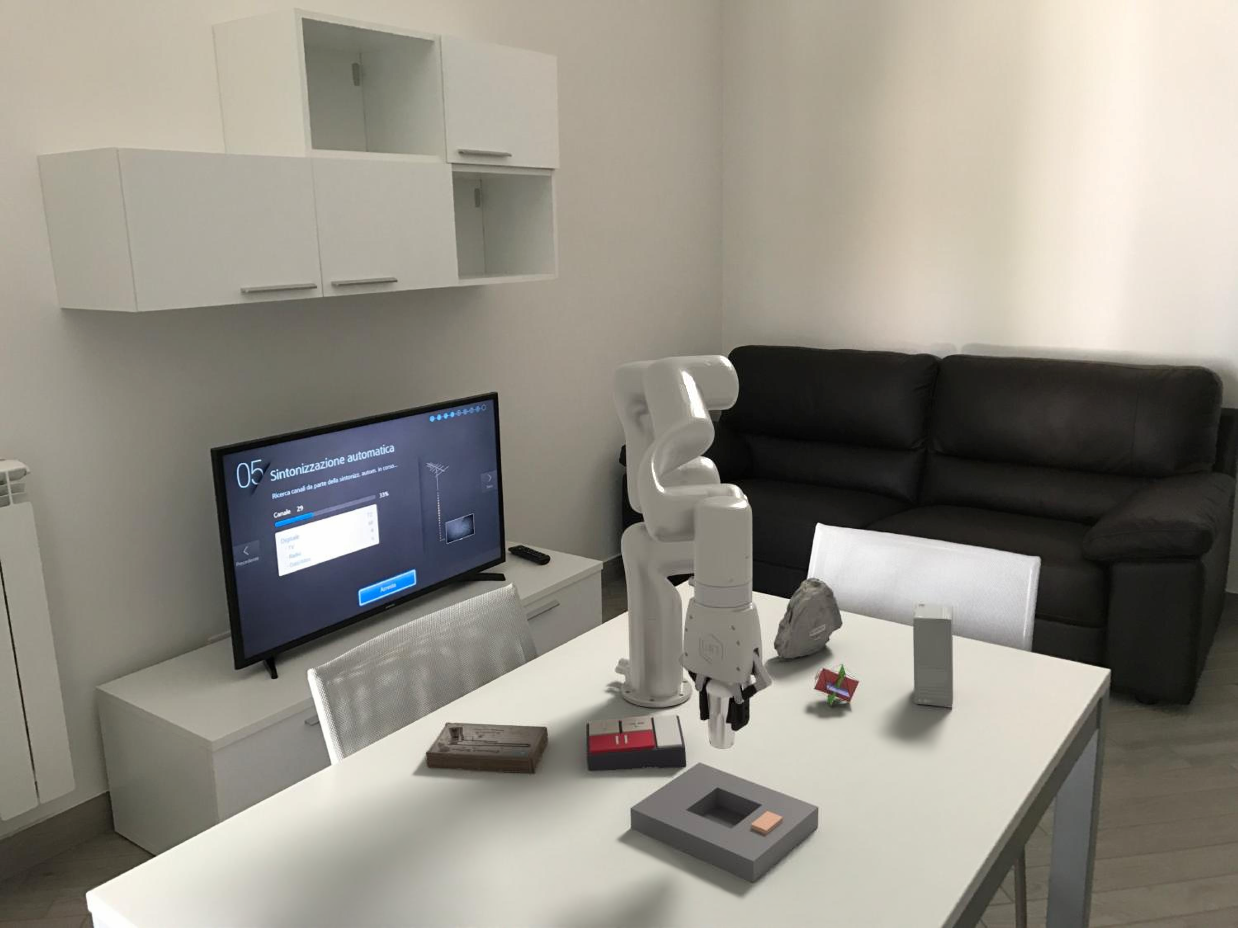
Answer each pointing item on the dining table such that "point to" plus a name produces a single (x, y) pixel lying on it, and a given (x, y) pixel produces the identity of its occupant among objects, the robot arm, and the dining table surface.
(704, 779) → the socket plate
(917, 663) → the skincare box
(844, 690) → the geometric puzzle
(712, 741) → the milkshake
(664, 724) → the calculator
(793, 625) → the decorative rock
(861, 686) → the dining table surface
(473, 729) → the box
